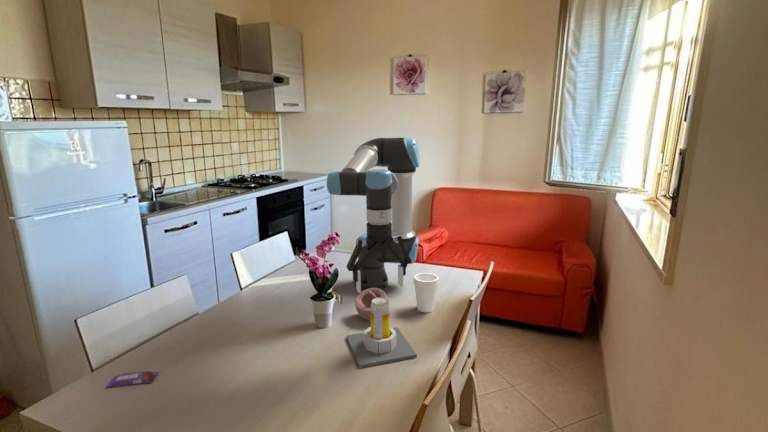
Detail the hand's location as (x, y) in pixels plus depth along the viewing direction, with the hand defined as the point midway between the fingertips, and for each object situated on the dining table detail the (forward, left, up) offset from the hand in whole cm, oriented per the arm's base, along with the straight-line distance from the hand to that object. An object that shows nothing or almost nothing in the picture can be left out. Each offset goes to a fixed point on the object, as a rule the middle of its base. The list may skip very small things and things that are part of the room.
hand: (379, 288), depth 125 cm
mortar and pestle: (-20, +3, -20) cm, 28 cm away
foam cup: (-21, +25, -20) cm, 38 cm away
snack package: (-5, -71, -21) cm, 74 cm away
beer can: (0, 0, -19) cm, 19 cm away
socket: (0, 0, -20) cm, 20 cm away
